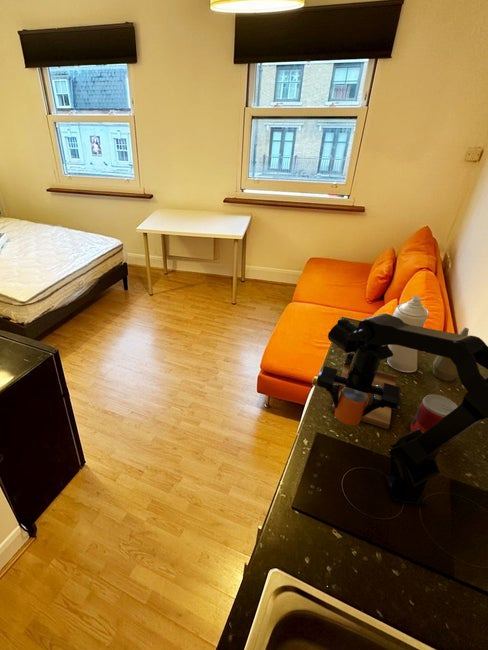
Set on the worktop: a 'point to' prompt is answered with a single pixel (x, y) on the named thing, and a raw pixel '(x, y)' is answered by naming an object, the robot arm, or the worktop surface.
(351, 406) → the orange tin
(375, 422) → the spice shelf
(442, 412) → the canned food
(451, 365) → the squeeze bottle
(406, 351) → the spray can
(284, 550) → the worktop surface
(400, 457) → the robot arm
